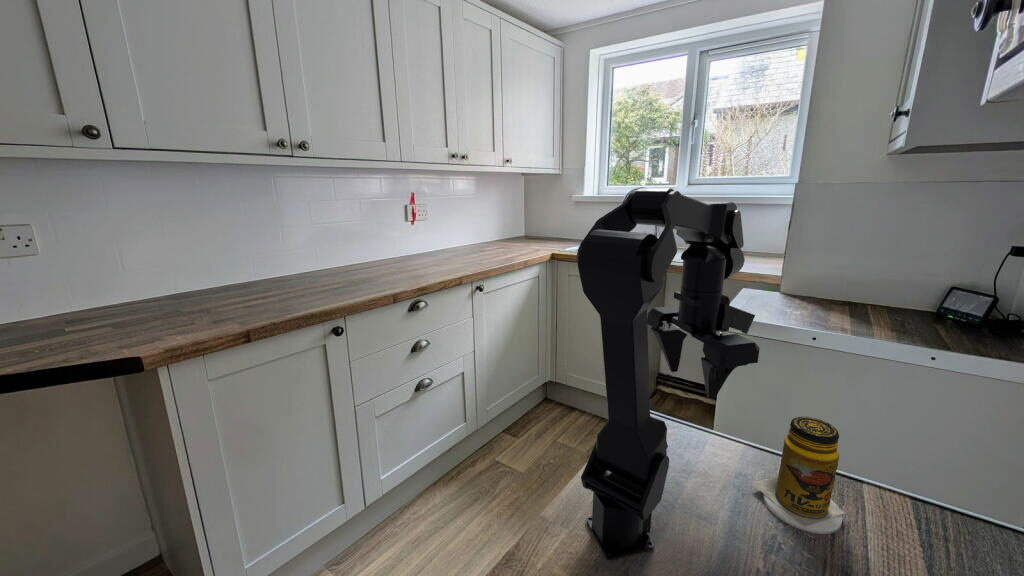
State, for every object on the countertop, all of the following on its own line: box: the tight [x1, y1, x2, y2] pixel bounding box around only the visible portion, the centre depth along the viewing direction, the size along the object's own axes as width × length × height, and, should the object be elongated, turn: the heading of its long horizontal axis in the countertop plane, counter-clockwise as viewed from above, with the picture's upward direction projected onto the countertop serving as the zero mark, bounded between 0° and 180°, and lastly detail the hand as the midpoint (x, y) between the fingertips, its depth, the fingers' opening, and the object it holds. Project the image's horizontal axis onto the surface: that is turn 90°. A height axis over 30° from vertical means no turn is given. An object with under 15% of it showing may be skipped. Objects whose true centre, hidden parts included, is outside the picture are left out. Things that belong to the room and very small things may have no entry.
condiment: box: [750, 416, 846, 526], centre depth 58 cm, size 7×8×12 cm
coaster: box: [762, 493, 843, 535], centre depth 59 cm, size 9×9×1 cm
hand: (691, 383), depth 67 cm, fingers open, 9 cm apart
